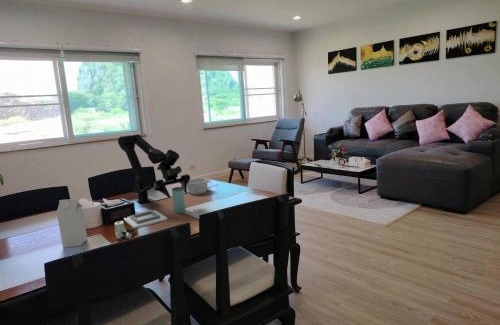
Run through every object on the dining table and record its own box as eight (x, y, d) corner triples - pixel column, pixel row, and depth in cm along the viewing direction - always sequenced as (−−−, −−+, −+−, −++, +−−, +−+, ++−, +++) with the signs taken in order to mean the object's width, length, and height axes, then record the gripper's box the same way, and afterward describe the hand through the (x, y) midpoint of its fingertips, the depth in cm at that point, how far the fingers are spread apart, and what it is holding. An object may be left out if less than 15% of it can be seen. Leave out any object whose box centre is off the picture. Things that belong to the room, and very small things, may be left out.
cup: (172, 211, 179) (170, 188, 177) (182, 208, 182) (180, 186, 180) (177, 213, 175) (174, 190, 173) (187, 211, 178) (185, 188, 176)
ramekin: (182, 194, 210) (181, 183, 209) (193, 188, 222) (192, 178, 221) (201, 195, 205) (200, 183, 204) (212, 189, 217) (211, 178, 216)
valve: (111, 238, 148) (122, 246, 139) (109, 223, 147) (119, 230, 138) (126, 233, 153) (137, 241, 143) (124, 219, 151) (135, 225, 142)
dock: (123, 220, 170) (123, 215, 170) (155, 212, 179) (154, 208, 179) (134, 228, 158) (133, 224, 157) (167, 219, 167) (167, 215, 166)
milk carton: (70, 241, 148) (62, 197, 145) (87, 239, 149) (80, 196, 145) (62, 248, 141) (54, 202, 138) (80, 246, 142) (73, 201, 138)
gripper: (152, 165, 173) (163, 190, 167) (186, 159, 184) (198, 182, 177) (149, 178, 181) (159, 202, 174) (182, 171, 192) (193, 194, 185)
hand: (178, 195), depth 177 cm, fingers open, 9 cm apart
